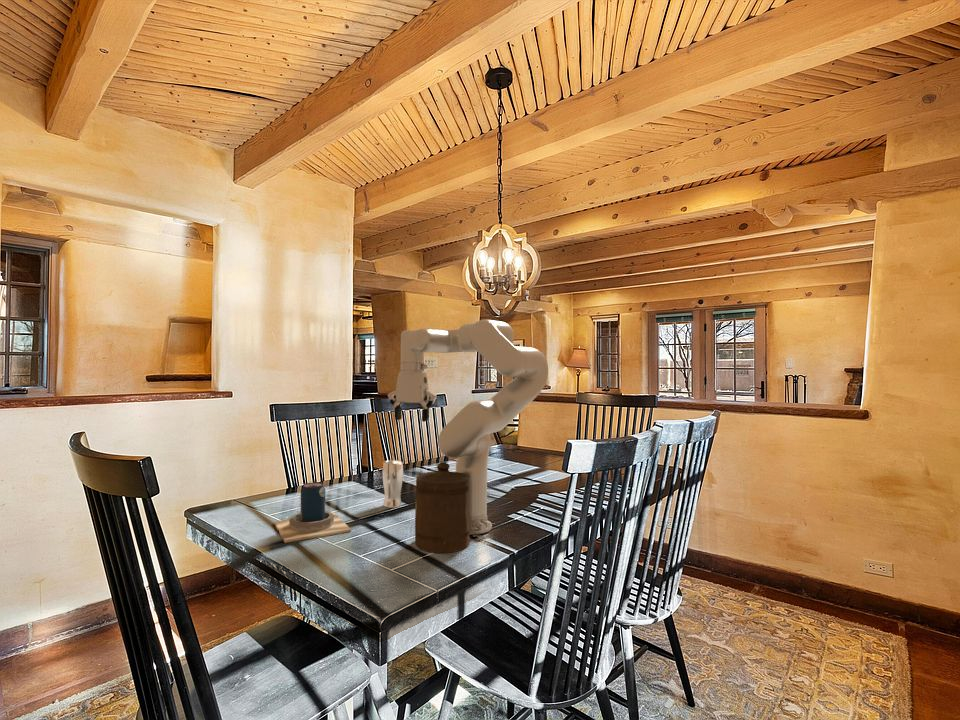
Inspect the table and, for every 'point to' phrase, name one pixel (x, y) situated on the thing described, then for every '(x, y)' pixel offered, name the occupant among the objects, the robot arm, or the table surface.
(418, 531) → the wooden container
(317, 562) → the table surface
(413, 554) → the table surface
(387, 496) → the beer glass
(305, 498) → the soda can
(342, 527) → the collar plate
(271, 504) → the table surface
